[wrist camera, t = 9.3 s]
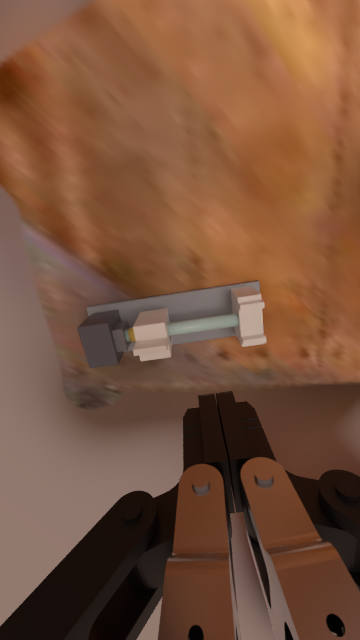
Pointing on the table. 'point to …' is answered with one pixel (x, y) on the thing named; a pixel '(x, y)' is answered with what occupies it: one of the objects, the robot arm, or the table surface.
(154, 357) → the cream stepped block
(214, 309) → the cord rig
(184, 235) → the table surface
